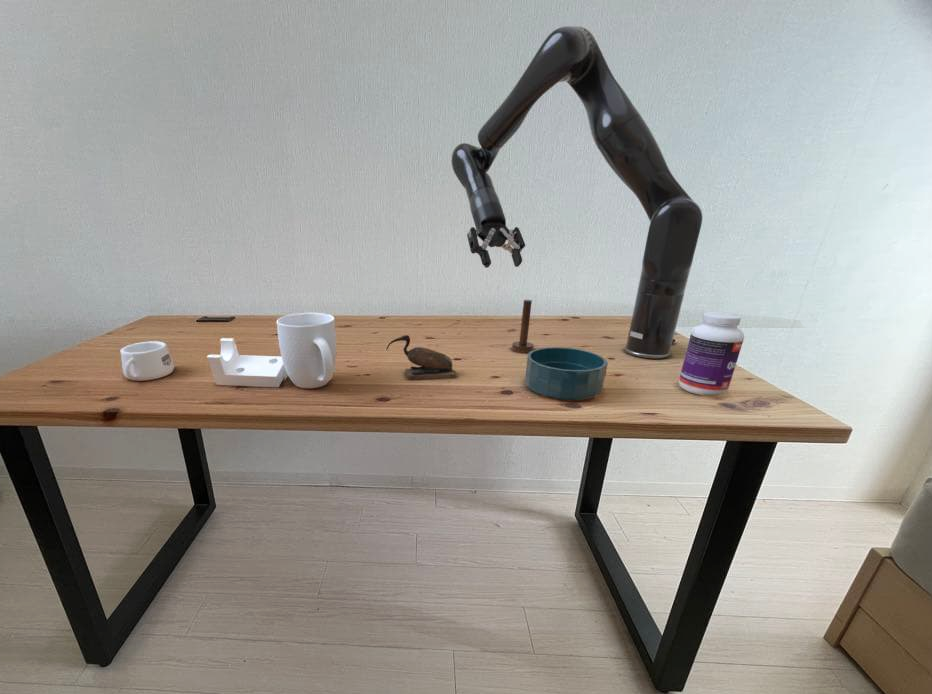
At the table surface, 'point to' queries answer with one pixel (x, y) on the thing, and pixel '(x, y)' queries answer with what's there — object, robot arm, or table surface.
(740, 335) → the pill bottle
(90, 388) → the table surface
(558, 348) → the bowl
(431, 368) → the figurine
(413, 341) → the table surface
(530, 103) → the robot arm
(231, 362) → the bracket
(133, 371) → the mug
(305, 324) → the mug
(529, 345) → the brown peg
